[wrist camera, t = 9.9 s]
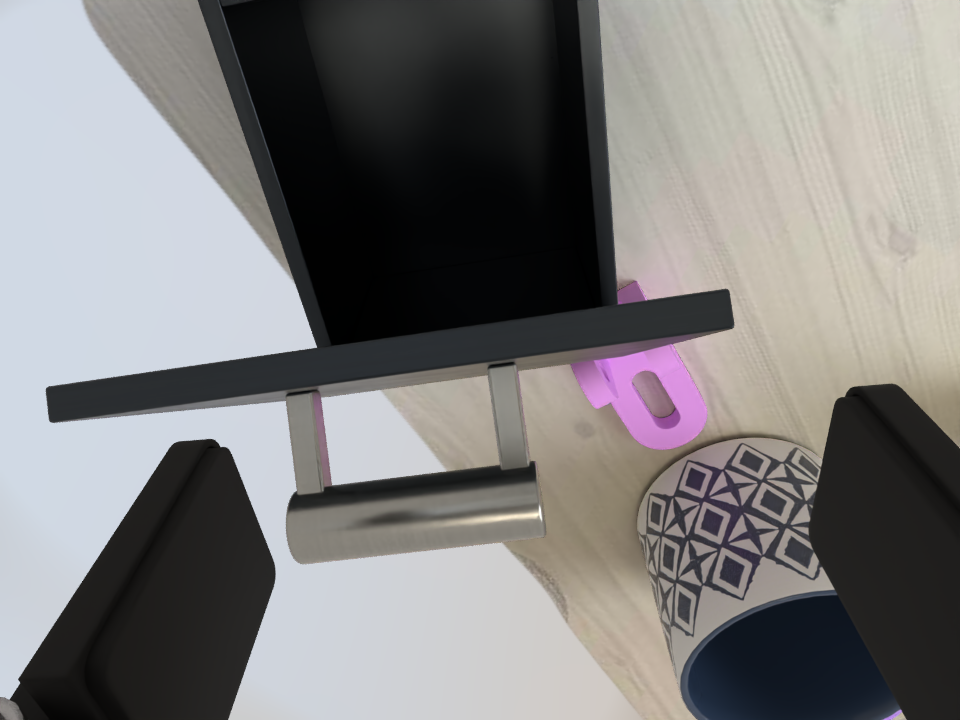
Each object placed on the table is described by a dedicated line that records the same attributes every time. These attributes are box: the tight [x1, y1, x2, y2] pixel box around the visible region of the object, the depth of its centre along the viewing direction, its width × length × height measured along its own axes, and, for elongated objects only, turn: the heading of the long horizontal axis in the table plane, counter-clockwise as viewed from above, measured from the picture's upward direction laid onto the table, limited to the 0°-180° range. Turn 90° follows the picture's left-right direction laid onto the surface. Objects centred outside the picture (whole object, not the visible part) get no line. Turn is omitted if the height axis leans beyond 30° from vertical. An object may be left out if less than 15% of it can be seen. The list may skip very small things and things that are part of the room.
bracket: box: [571, 281, 707, 450], centre depth 43 cm, size 13×6×7 cm, turn 33°
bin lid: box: [46, 289, 734, 564], centre depth 23 cm, size 18×15×5 cm
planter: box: [637, 438, 901, 720], centre depth 47 cm, size 16×16×14 cm
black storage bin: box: [198, 0, 618, 348], centre depth 33 cm, size 18×15×12 cm
